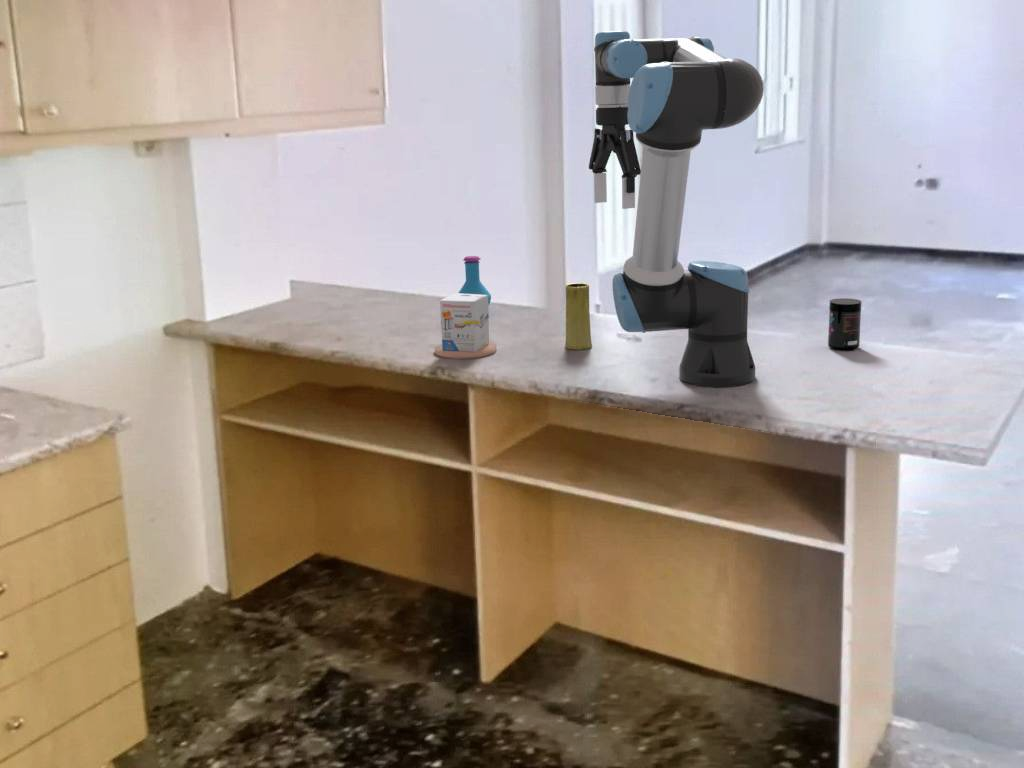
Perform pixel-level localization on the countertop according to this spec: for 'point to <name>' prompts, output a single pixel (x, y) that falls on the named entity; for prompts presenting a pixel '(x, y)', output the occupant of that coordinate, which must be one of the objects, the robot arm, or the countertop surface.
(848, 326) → the supplement container
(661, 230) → the robot arm
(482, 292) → the perfume bottle
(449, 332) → the ink box
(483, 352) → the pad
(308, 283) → the countertop surface
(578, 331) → the vase
